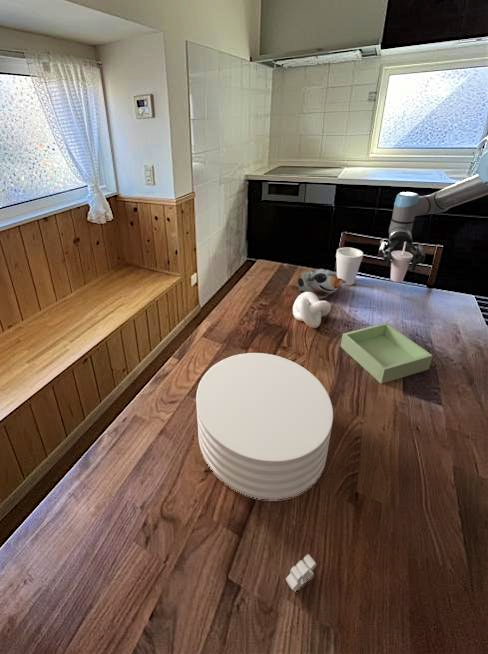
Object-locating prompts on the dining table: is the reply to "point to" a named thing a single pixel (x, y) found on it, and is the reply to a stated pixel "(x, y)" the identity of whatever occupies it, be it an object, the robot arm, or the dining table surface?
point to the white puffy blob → (310, 309)
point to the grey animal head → (319, 282)
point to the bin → (385, 352)
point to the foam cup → (348, 263)
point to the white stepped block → (301, 573)
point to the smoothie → (400, 264)
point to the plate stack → (263, 425)
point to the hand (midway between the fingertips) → (401, 264)
